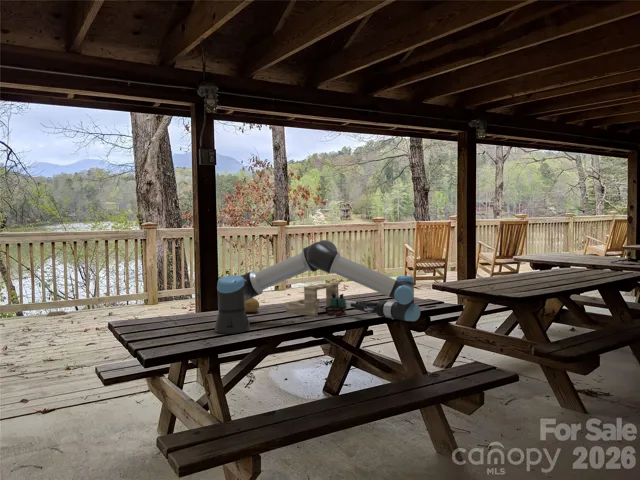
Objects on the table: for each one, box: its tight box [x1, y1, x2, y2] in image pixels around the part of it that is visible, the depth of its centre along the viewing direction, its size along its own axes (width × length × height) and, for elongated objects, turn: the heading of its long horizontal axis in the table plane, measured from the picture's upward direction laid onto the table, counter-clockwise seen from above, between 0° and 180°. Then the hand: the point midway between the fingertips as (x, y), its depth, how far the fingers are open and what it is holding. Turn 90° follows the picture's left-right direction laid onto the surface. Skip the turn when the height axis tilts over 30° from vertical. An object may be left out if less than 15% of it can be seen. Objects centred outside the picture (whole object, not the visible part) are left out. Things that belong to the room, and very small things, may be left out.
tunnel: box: [285, 282, 340, 318], centre depth 243 cm, size 18×21×14 cm
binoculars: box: [324, 293, 347, 317], centre depth 232 cm, size 9×11×10 cm
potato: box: [245, 297, 260, 313], centre depth 246 cm, size 10×14×8 cm
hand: (347, 303), depth 227 cm, fingers closed
